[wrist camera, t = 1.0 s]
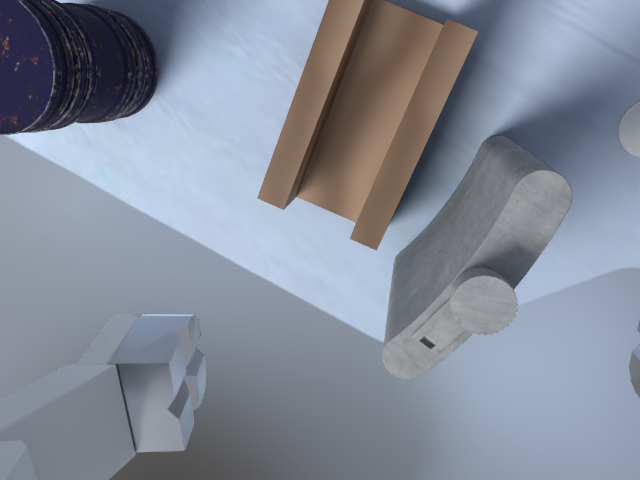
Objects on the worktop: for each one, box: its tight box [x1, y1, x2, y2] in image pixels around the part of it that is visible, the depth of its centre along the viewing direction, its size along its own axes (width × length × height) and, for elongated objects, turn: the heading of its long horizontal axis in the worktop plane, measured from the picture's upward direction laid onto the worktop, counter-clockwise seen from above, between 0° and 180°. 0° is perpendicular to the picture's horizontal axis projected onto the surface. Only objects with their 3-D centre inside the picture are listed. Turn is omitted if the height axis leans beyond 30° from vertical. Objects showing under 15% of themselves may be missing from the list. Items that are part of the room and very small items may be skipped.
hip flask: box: [383, 135, 572, 379], centre depth 39 cm, size 16×4×20 cm, turn 147°
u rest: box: [258, 0, 478, 250], centre depth 44 cm, size 11×18×6 cm, turn 158°
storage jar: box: [0, 0, 158, 135], centre depth 43 cm, size 10×10×15 cm
